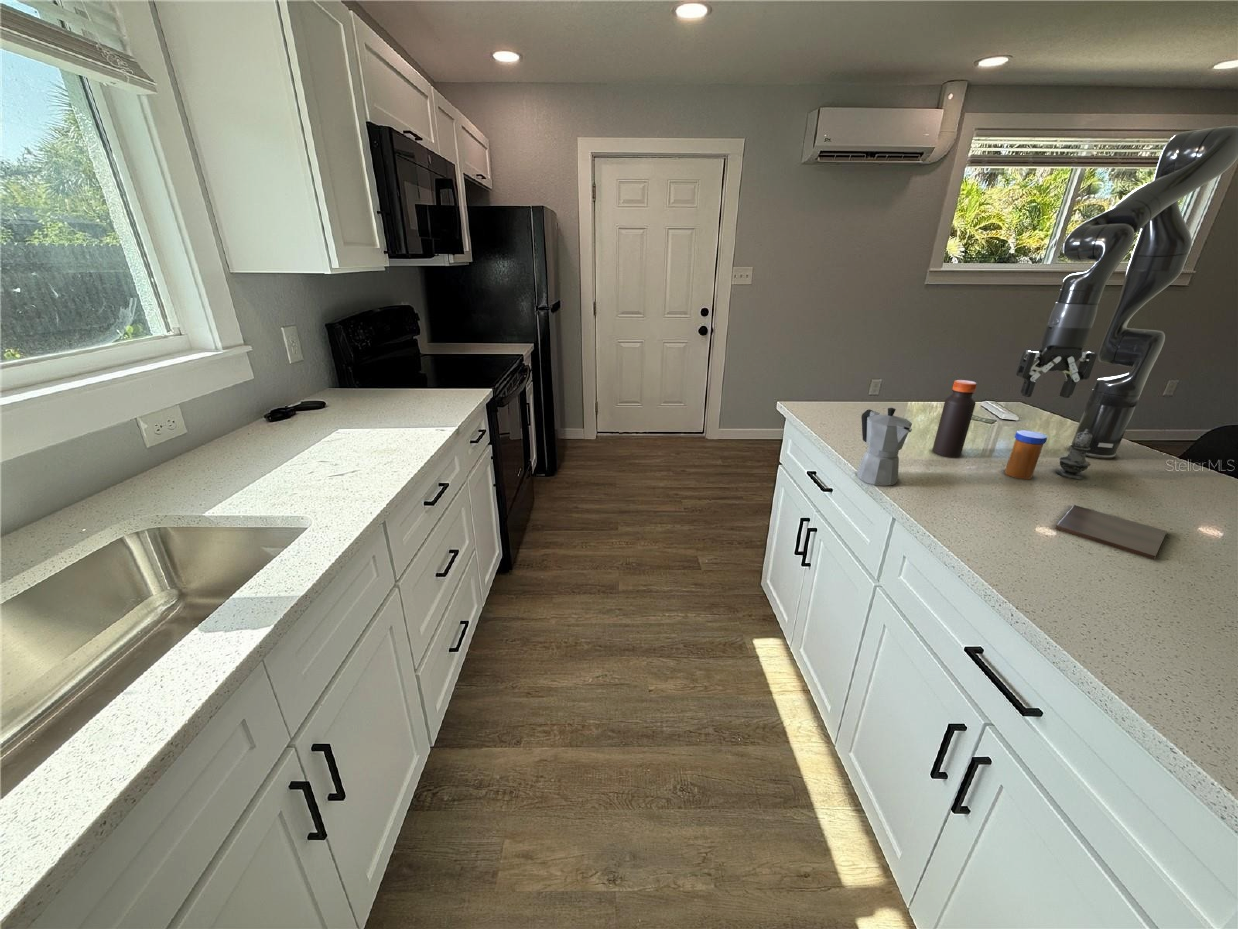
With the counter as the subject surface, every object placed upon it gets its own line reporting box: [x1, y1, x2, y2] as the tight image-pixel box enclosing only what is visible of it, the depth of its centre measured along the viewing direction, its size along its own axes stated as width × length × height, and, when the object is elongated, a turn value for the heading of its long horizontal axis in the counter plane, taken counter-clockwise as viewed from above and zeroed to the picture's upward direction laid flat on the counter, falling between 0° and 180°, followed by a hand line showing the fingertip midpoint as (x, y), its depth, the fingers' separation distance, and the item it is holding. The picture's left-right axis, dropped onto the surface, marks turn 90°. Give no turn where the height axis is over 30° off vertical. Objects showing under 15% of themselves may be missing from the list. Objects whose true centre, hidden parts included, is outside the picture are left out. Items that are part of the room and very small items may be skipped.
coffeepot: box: [855, 407, 913, 487], centre depth 118 cm, size 15×9×18 cm, turn 13°
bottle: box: [932, 379, 978, 458], centre depth 132 cm, size 7×7×20 cm
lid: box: [1014, 429, 1048, 445], centre depth 118 cm, size 6×6×2 cm
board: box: [1054, 504, 1167, 560], centre depth 97 cm, size 14×14×1 cm
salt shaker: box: [1055, 429, 1092, 480], centre depth 120 cm, size 6×6×12 cm
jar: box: [1004, 438, 1044, 480], centre depth 120 cm, size 5×5×10 cm
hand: (1044, 396), depth 114 cm, fingers open, 7 cm apart
